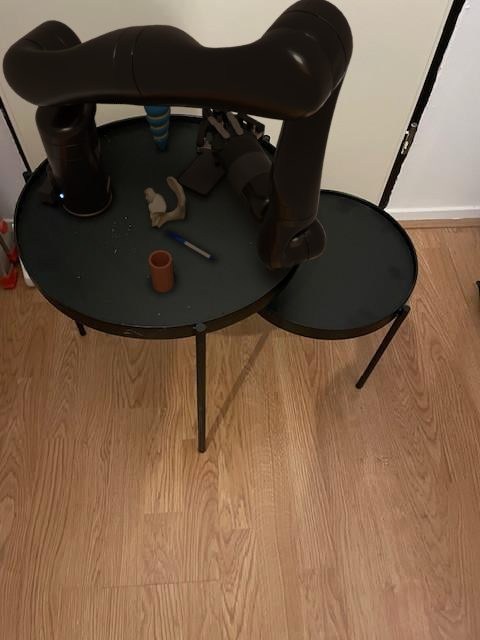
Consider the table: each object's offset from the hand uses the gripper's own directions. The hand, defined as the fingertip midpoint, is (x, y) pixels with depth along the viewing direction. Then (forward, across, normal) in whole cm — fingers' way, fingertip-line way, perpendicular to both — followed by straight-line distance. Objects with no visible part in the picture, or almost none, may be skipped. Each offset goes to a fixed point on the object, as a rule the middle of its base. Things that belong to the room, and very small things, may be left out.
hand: (211, 106), depth 101 cm
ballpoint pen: (-19, +12, +13) cm, 26 cm away
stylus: (-3, 0, +12) cm, 12 cm away
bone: (-11, +14, +13) cm, 22 cm away
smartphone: (-2, +1, +13) cm, 13 cm away
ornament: (+6, +8, +13) cm, 17 cm away
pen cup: (-25, +19, +13) cm, 34 cm away
